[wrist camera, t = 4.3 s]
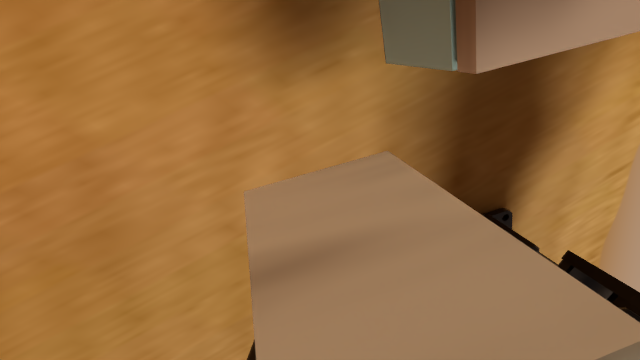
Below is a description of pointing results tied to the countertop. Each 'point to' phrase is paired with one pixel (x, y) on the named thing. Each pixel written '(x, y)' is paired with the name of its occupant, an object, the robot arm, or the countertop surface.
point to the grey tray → (420, 33)
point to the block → (409, 277)
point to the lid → (535, 28)
